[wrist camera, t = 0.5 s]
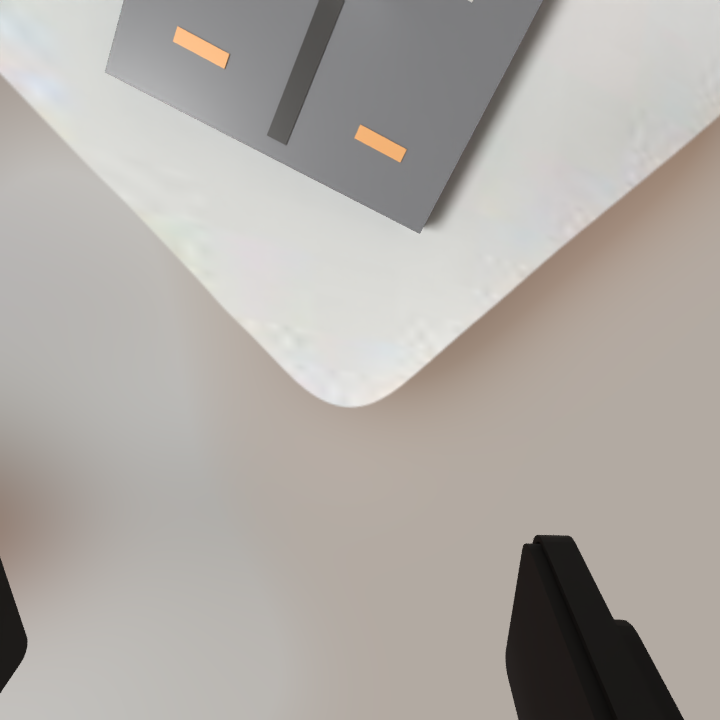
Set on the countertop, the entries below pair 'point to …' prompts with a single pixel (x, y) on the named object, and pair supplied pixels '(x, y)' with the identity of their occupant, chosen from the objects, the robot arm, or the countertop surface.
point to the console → (331, 82)
